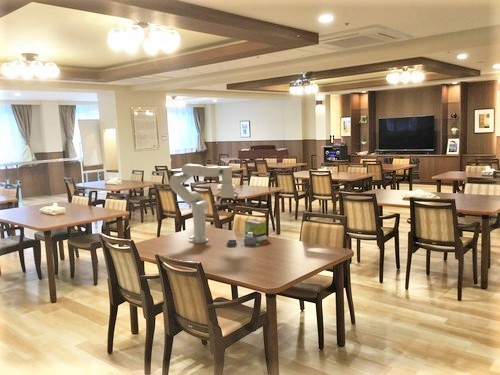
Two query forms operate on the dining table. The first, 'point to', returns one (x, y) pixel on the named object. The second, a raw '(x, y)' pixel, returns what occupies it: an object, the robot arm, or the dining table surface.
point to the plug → (249, 235)
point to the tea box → (256, 229)
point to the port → (250, 242)
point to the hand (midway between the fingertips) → (227, 204)
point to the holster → (231, 243)
